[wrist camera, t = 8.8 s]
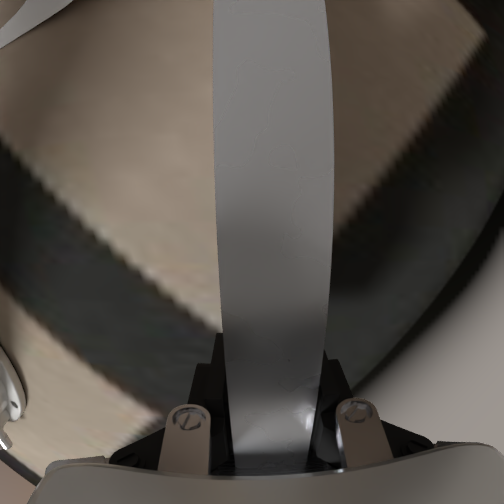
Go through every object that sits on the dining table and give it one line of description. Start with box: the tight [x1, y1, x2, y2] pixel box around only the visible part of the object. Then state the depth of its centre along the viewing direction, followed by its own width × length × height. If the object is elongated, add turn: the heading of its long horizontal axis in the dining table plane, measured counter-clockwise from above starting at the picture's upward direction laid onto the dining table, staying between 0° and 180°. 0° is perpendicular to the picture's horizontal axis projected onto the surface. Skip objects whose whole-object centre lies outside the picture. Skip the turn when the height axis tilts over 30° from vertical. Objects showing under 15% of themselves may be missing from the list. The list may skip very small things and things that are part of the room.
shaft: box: [213, 0, 334, 476], centre depth 7 cm, size 22×6×5 cm, turn 1°
